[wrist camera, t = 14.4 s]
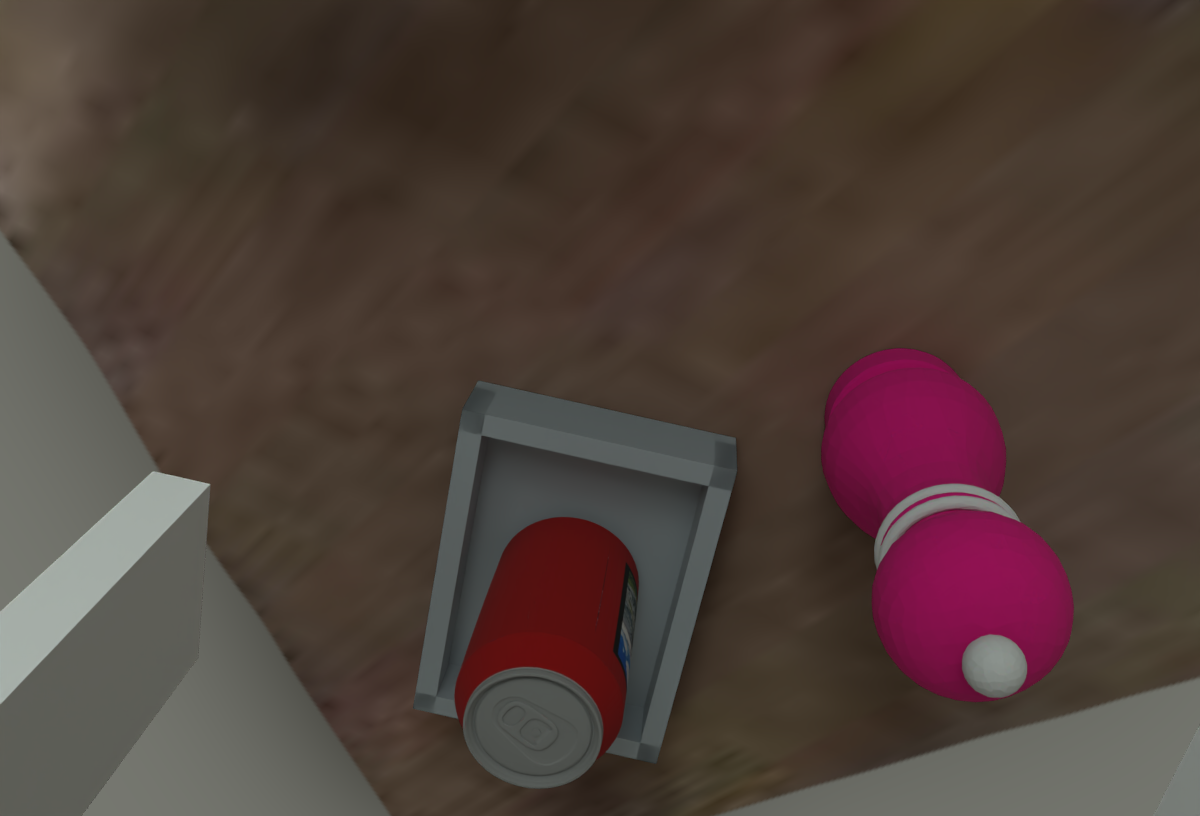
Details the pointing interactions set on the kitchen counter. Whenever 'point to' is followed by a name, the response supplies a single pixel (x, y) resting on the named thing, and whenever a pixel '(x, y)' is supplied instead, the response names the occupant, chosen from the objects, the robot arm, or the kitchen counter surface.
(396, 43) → the kitchen counter surface
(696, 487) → the tray
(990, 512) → the pepper mill
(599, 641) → the beverage can
